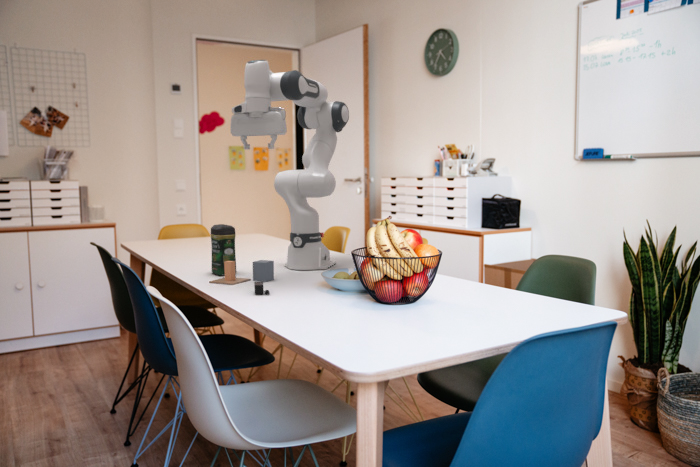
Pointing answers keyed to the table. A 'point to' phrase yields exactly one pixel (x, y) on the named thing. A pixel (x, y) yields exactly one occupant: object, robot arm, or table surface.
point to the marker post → (229, 275)
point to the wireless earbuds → (259, 288)
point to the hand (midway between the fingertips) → (258, 149)
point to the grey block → (263, 270)
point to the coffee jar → (222, 247)
